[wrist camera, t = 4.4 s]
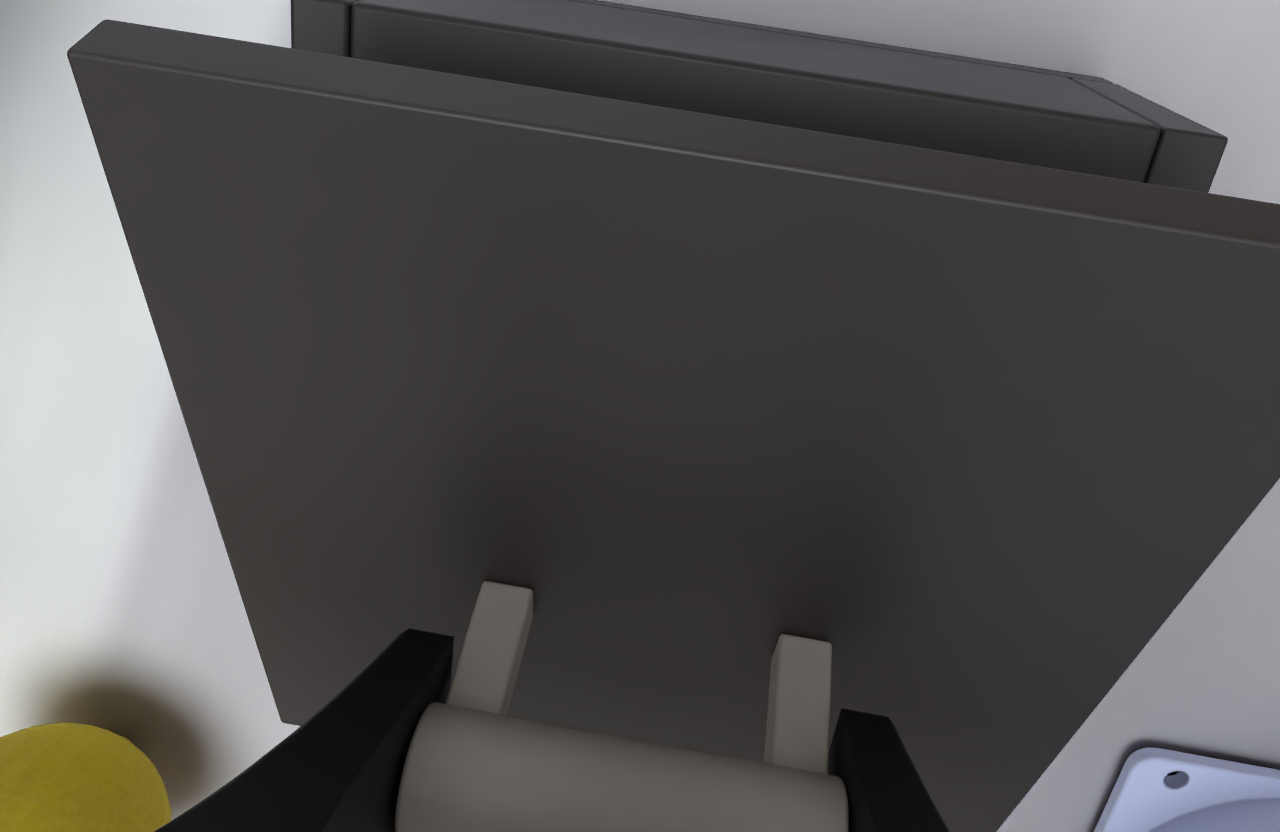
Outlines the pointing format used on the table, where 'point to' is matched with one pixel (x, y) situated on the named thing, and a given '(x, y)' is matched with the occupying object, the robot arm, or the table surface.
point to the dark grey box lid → (682, 425)
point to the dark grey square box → (778, 80)
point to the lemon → (78, 782)
